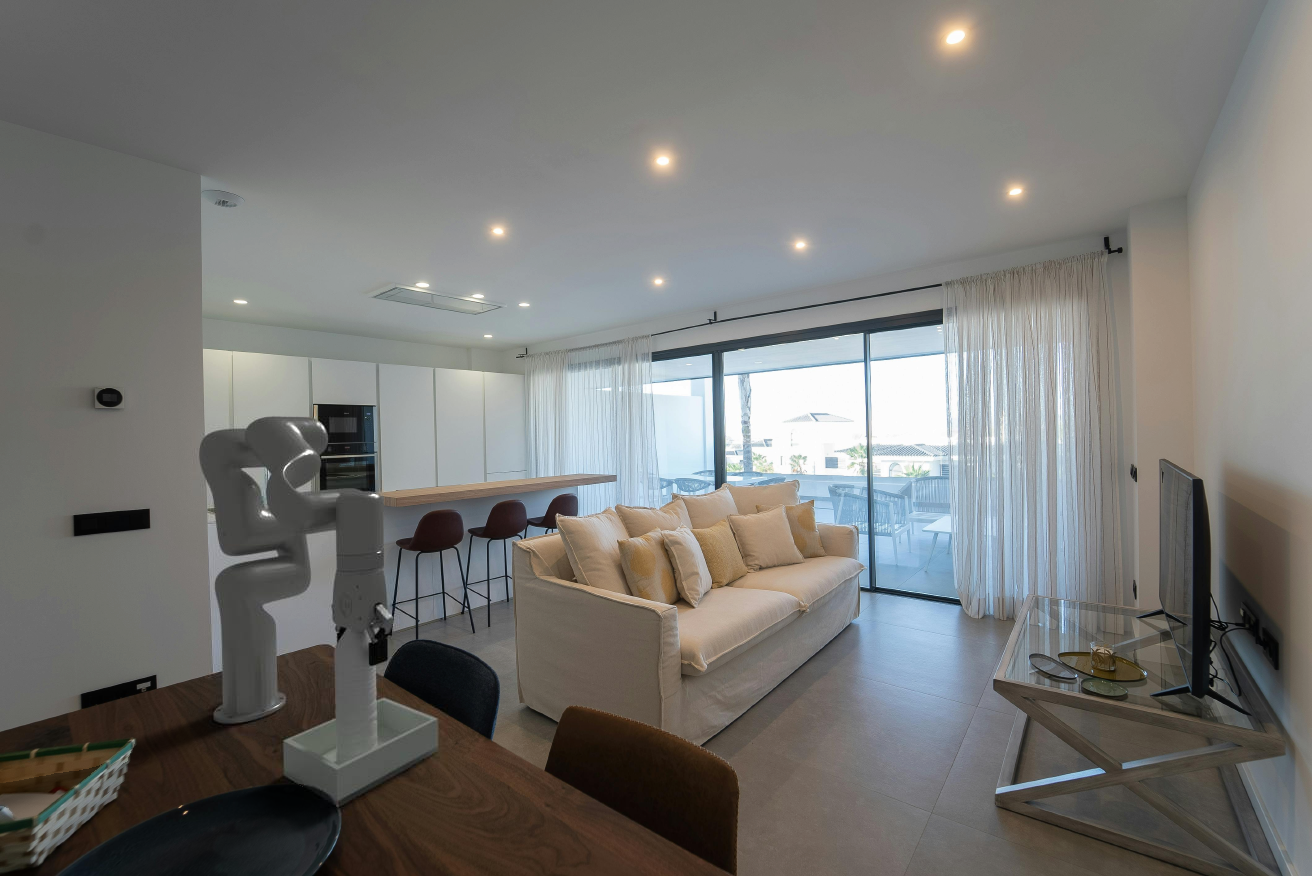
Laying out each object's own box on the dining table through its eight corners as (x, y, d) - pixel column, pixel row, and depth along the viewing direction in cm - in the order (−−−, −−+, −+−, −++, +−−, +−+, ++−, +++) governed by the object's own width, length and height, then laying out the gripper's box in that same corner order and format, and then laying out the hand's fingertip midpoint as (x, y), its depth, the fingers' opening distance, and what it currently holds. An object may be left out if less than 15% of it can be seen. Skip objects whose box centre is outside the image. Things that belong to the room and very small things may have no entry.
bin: (283, 775, 99) (283, 740, 99) (384, 727, 115) (384, 697, 115) (337, 807, 90) (336, 769, 90) (438, 751, 106) (437, 718, 106)
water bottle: (358, 773, 97) (355, 626, 97) (327, 767, 99) (324, 623, 99) (394, 745, 106) (392, 610, 105) (366, 740, 108) (363, 608, 107)
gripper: (312, 560, 103) (314, 655, 104) (368, 571, 94) (370, 675, 94) (353, 552, 110) (354, 642, 110) (409, 562, 101) (411, 660, 101)
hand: (362, 657), depth 102 cm, fingers open, 9 cm apart
